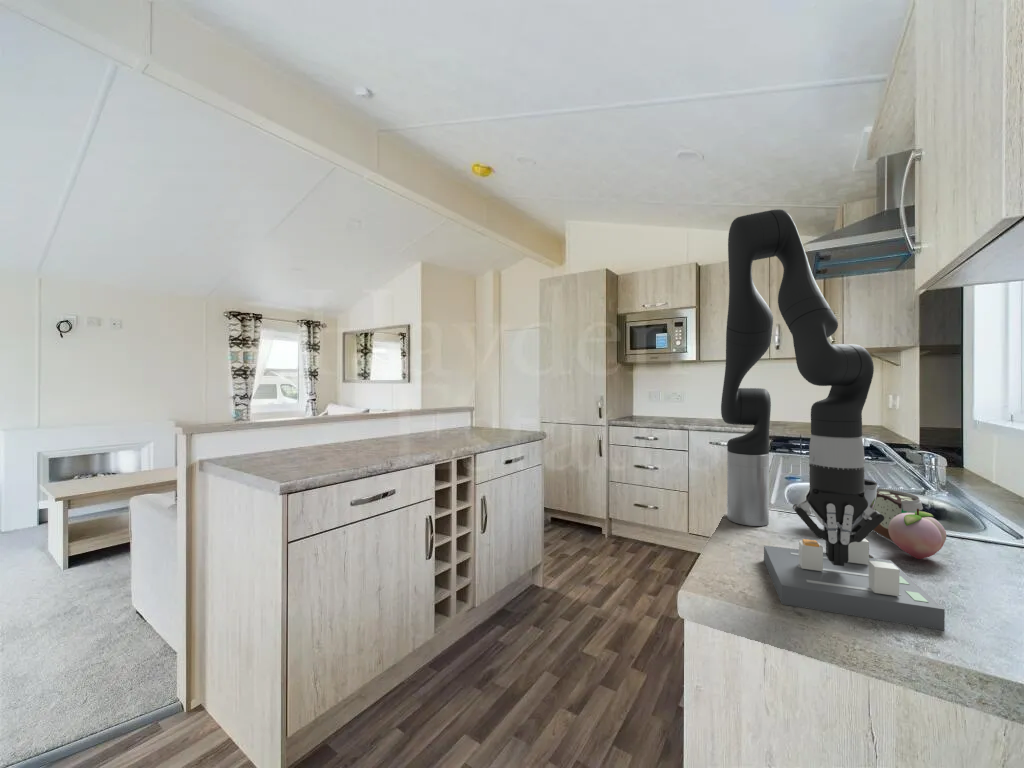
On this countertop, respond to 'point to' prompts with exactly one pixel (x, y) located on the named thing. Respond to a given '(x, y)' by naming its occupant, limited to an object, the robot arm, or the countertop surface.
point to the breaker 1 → (859, 552)
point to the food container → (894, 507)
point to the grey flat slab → (849, 590)
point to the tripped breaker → (810, 555)
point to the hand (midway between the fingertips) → (836, 563)
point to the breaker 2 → (884, 578)
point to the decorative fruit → (917, 534)
